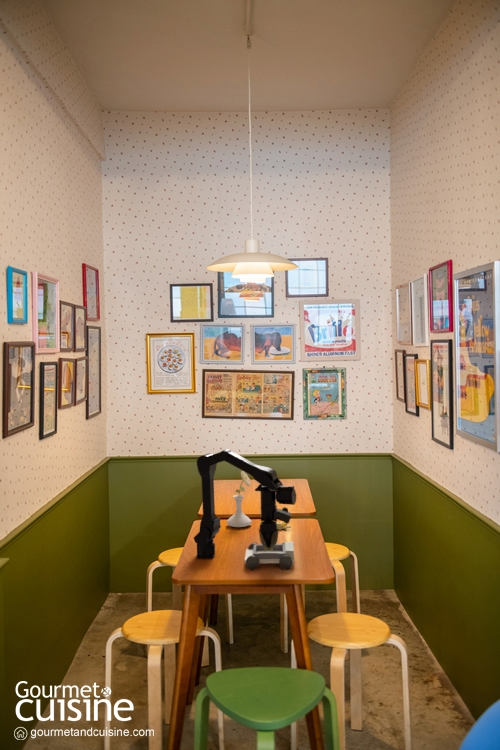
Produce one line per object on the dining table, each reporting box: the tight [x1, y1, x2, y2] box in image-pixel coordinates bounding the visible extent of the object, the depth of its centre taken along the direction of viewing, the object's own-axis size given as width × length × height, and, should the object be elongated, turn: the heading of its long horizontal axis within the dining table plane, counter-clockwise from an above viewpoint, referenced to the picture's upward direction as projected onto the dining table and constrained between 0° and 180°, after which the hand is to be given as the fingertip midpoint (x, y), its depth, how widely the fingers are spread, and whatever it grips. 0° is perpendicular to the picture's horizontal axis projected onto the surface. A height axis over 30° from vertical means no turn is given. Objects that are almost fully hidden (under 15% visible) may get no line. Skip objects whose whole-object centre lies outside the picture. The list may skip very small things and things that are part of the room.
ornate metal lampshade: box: [258, 528, 280, 551], centre depth 248 cm, size 8×7×8 cm
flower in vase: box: [226, 470, 252, 528], centre depth 302 cm, size 13×11×25 cm
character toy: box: [276, 521, 292, 531], centre depth 295 cm, size 8×3×8 cm
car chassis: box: [244, 541, 295, 571], centre depth 248 cm, size 18×18×6 cm
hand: (268, 544), depth 248 cm, fingers closed on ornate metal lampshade, 6 cm apart
